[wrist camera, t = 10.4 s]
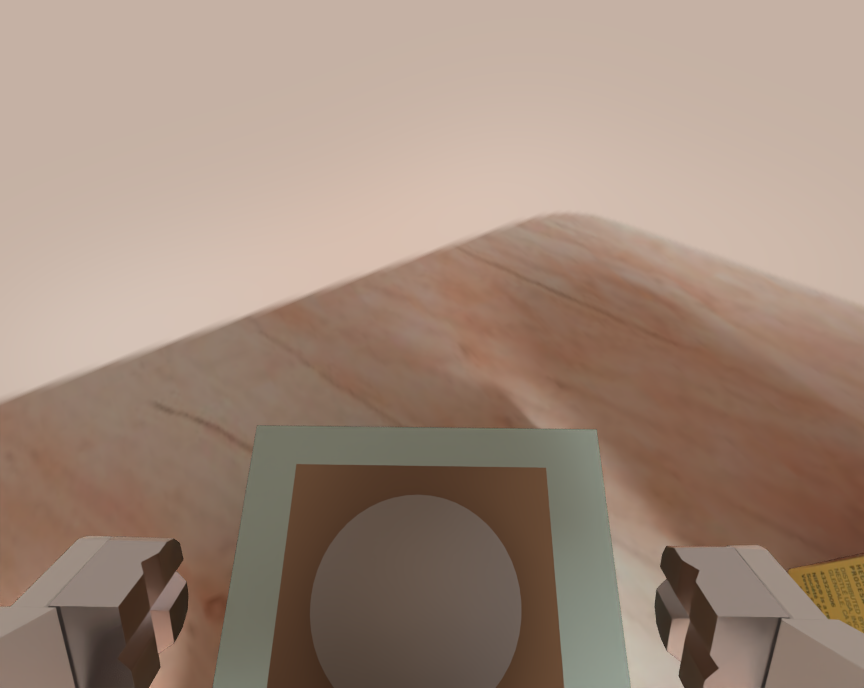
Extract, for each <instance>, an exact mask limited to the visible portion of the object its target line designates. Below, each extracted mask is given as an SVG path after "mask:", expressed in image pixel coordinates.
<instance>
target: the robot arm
mask: <svg viewBox="0 0 864 688" xmlns="http://www.w3.org/2000/svg"><path fill="white" fill-rule="evenodd" d="M182 561H183V556H182V551H181V546H180V543H179V542H178V541H177V540H175V539H172V538H145V537H118V536H117V537H112V536H86V537H83V538H80V539H78V540H77V541H76V542H75V543H74V544H73V545H72V546H71V547H70V548H69V549H68V550H67V551H66V552H65V553H64V554H63V555H62V556H61V557H60V558H59V559H58V560H57V561H56V562H55V563H54V564H53V565H52V566H51V567H50V568H49V569H48V570H47V571H46V572H45V573H44V574H43V575H42V576H41V577H40V578H39V579H38V580H37V581H36V582H35V583H34V584H33V585H32V586H31V587H30V588H29V589H28V590H27V591H26V592H25V593H24V594H23V595H22V596H21V597H20V598H19V599H18V600H17V601H16V602H15V603H14V604H13V605H12V606H11V607H0V688H149V686H150V685H151V683H152V681H153V679H154V678H155V676H156V674H157V672H158V671H159V669H160V661H159V655H158V654H159V653H161V652H162V651H164V650H165V649H166V648H168V647H169V646H171V645H172V644H173V643H174V642H175V640H176V639H177V637H178V635H179V633H180V631H181V629H182V627H183V624H184V620H185V617H186V613H187V609H188V588H187V582H186V581H185V580H184V579H183V577H182V576H181V575H180V574H179V573H178V572H177V571H176V570H177V568H178V567H179V565H180V564H181V562H182ZM660 567H661V569H662V571H663V573H664V574H665V576H666V578H667V579H666V580H665V581H664V582H663V583H662V584H661V585H660V586H659V587H658V588H657V590H656V599H655V614H656V624H657V627H658V631H659V634H660V637H661V640H662V642H663V644H664V646H665V648H666V650H667V652H669V653H670V654H671V655H672V656H674V657H675V658H676V659H678V660H679V661H680V662H681V664H680V670H679V678H680V680H681V682H682V684H683V686H684V688H864V633H862V632H860V631H858V630H857V629H855V628H853V627H851V626H849V625H848V624H846V623H844V622H842V621H840V620H832V619H828V618H827V617H826V616H825V615H824V614H823V613H822V612H821V610H820V609H819V608H818V607H817V606H816V605H815V604H814V603H813V601H812V600H811V599H810V598H809V597H808V596H807V595H806V593H805V592H804V591H803V590H802V589H801V588H800V587H799V585H798V584H797V583H796V582H795V581H794V580H793V579H792V578H791V576H790V575H789V574H788V573H787V572H786V571H785V570H784V568H783V567H782V566H781V565H780V564H779V563H778V562H777V561H776V559H775V558H774V557H773V556H772V555H771V554H770V553H769V551H768V550H767V549H765V548H763V547H761V546H759V545H729V546H727V547H715V546H666V548H665V550H664V552H663V554H662V559H661V565H660Z"/></svg>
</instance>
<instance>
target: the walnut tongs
mask: <svg viewBox="0 0 864 688" xmlns="http://www.w3.org/2000/svg"><path fill="white" fill-rule="evenodd" d="M267 688H564V678H563V666H562V654H561V642H560V630H559V618H558V605H557V593H556V581H555V569H554V557H553V545H552V533H551V521H550V509H549V496H548V484H547V472H546V468H538V467H468V466H398V465H329V464H296V470H295V478H294V485H293V493H292V501H291V508H290V516H289V523H288V531H287V538H286V546H285V553H284V561H283V568H282V576H281V584H280V591H279V599H278V606H277V614H276V621H275V629H274V636H273V644H272V651H271V659H270V667H269V674H268V682H267Z"/></svg>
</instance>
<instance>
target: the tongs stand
mask: <svg viewBox="0 0 864 688" xmlns="http://www.w3.org/2000/svg"><path fill="white" fill-rule="evenodd" d="M296 464H329V465H398V466H468V467H538V468H546V472H547V484H548V496H549V509H550V521H551V533H552V545H553V557H554V569H555V581H556V593H557V605H558V618H559V630H560V642H561V654H562V666H563V678H564V688H631V686H630V678H629V670H628V663H627V655H626V648H625V640H624V633H623V625H622V618H621V610H620V602H619V595H618V587H617V580H616V572H615V565H614V557H613V549H612V542H611V534H610V527H609V519H608V512H607V504H606V497H605V489H604V481H603V474H602V466H601V459H600V451H599V444H598V436H597V429H520V428H436V427H351V426H266V425H257V429H256V435H255V440H254V446H253V452H252V458H251V464H250V470H249V476H248V482H247V487H246V493H245V499H244V505H243V511H242V517H241V523H240V529H239V534H238V540H237V546H236V552H235V558H234V564H233V570H232V576H231V581H230V587H229V593H228V599H227V605H226V611H225V617H224V623H223V628H222V634H221V640H220V646H219V652H218V658H217V664H216V670H215V675H214V681H213V687H212V688H267V682H268V674H269V667H270V659H271V651H272V644H273V636H274V629H275V621H276V614H277V606H278V599H279V591H280V584H281V576H282V568H283V561H284V553H285V546H286V538H287V531H288V523H289V516H290V508H291V501H292V493H293V485H294V478H295V470H296Z"/></svg>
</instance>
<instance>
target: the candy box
mask: <svg viewBox="0 0 864 688" xmlns="http://www.w3.org/2000/svg"><path fill="white" fill-rule="evenodd" d="M788 574H789V575H790V576H791V578H792V579H793V580H794V581H795V582H796V583H797V584H798V585H799V587H800V588H801V589H802V590H803V591H804V592H805V593H806V595H807V596H808V597H809V598H810V599H811V600H812V601H813V603H814V604H815V605H816V606H817V607H818V608H819V609H820V610H821V612H822V613H823V614H824V615H825V616H826V617H827V618H828V619H832V620H840V621H842V622H844V623H846V624H848V625H849V626H851V627H853V628H855V629H857V630H858V631H860V632H862V633H864V553H861V554H856V555H852V556H848V557H843V558H838V559H834V560H829V561H825V562H820V563H815V564H811V565H806V566H801V567H796V568H791V569H789V570H788Z"/></svg>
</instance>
